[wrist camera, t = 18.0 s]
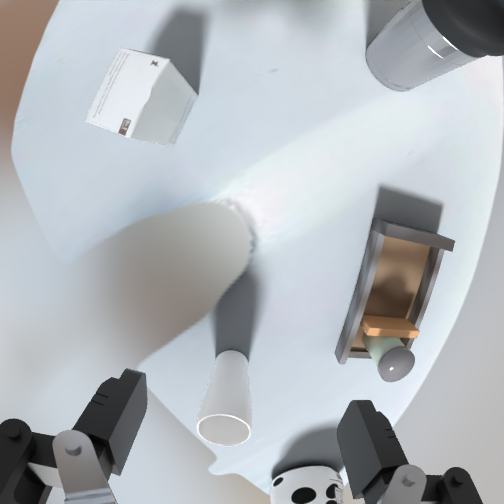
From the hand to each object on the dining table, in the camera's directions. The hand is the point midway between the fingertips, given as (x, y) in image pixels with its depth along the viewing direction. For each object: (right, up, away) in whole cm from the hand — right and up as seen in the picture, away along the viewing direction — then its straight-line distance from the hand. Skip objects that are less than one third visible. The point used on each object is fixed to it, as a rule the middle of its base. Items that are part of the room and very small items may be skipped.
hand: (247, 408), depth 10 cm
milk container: (+13, -48, +44) cm, 67 cm away
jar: (+20, -7, +32) cm, 39 cm away
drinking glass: (-3, -12, +34) cm, 36 cm away
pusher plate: (+21, -5, +31) cm, 37 cm away
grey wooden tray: (+21, -1, +31) cm, 38 cm away
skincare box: (-11, +24, +25) cm, 37 cm away
